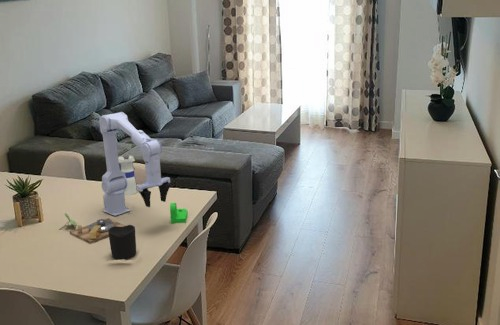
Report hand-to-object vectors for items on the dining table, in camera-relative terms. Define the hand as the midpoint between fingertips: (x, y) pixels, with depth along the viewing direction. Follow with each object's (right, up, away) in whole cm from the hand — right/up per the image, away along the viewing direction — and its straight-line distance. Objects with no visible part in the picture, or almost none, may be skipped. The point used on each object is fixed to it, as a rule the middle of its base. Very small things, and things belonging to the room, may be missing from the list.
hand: (155, 203), depth 219 cm
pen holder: (-8, -17, -18) cm, 27 cm away
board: (-22, -11, +4) cm, 25 cm away
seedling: (-40, -11, +5) cm, 42 cm away
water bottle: (-20, 0, +43) cm, 48 cm away
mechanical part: (+8, -7, +15) cm, 19 cm away
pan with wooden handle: (-23, -11, 0) cm, 25 cm away
